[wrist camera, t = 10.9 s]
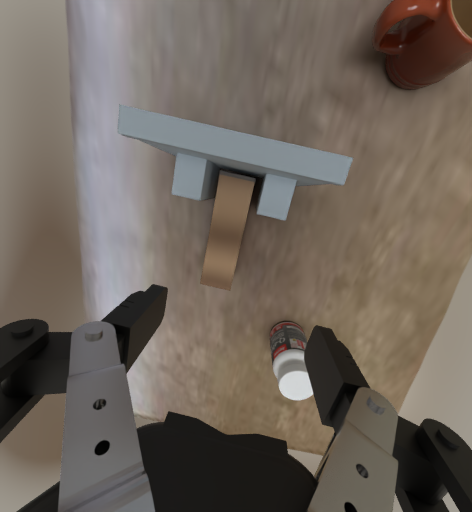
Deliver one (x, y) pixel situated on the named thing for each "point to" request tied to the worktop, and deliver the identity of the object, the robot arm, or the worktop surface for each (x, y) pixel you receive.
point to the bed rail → (226, 229)
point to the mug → (424, 40)
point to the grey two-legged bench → (233, 158)
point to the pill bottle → (290, 360)
